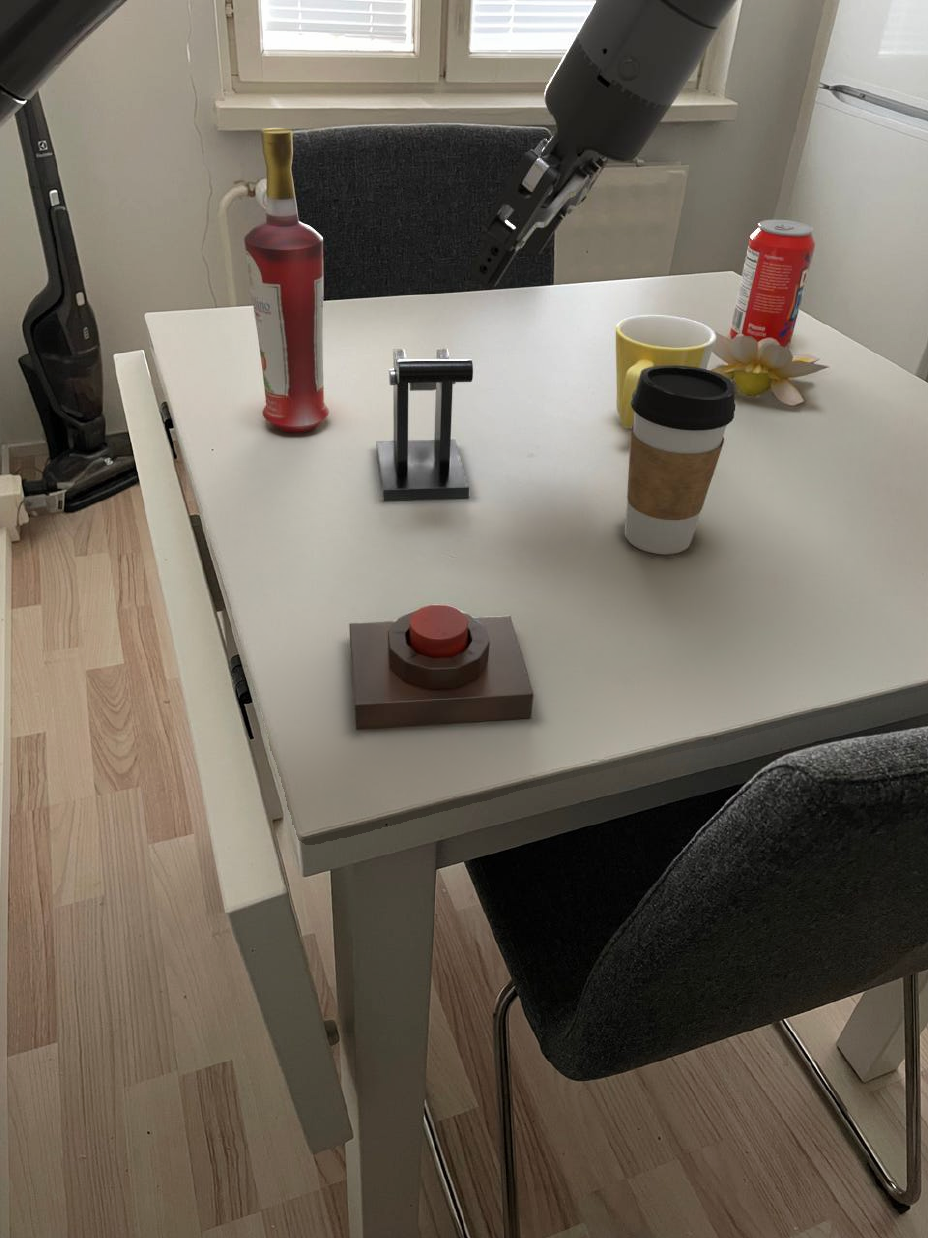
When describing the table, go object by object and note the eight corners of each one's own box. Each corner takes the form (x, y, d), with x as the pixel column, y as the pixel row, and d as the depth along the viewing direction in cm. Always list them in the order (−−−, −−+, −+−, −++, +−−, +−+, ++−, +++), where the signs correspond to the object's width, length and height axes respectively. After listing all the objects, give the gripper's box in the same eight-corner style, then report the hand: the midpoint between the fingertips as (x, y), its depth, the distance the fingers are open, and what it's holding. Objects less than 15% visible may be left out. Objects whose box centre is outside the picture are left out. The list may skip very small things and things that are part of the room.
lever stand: (468, 498, 90) (474, 378, 83) (383, 501, 89) (382, 380, 82) (454, 449, 98) (459, 337, 91) (376, 451, 97) (375, 337, 90)
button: (412, 661, 64) (412, 640, 63) (407, 625, 68) (407, 605, 67) (470, 657, 65) (472, 637, 64) (463, 622, 68) (464, 602, 67)
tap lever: (473, 385, 77) (472, 354, 77) (399, 386, 77) (398, 355, 76) (453, 390, 89) (452, 363, 89) (389, 391, 88) (388, 364, 88)
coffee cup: (592, 523, 87) (615, 364, 78) (669, 506, 90) (699, 352, 81) (644, 570, 81) (674, 405, 72) (724, 551, 84) (763, 390, 75)
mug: (636, 396, 111) (650, 306, 104) (714, 424, 105) (734, 330, 99) (566, 432, 102) (577, 336, 96) (648, 464, 97) (665, 365, 91)
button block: (355, 729, 64) (354, 684, 62) (350, 646, 71) (348, 603, 69) (531, 718, 66) (536, 673, 63) (508, 638, 73) (512, 595, 70)
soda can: (715, 341, 126) (740, 222, 117) (751, 330, 130) (777, 214, 121) (765, 360, 121) (794, 237, 112) (800, 347, 126) (831, 228, 117)
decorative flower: (846, 376, 113) (857, 298, 106) (811, 428, 107) (820, 349, 100) (725, 354, 121) (729, 279, 113) (686, 401, 115) (687, 326, 108)
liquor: (252, 415, 102) (223, 124, 86) (316, 404, 105) (301, 121, 88) (274, 443, 97) (249, 140, 80) (341, 431, 100) (330, 136, 83)
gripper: (619, 13, 66) (503, 210, 78) (542, 35, 56) (422, 258, 67) (702, 83, 66) (574, 269, 78) (640, 118, 56) (503, 327, 68)
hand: (504, 264), depth 73 cm, fingers open, 8 cm apart
